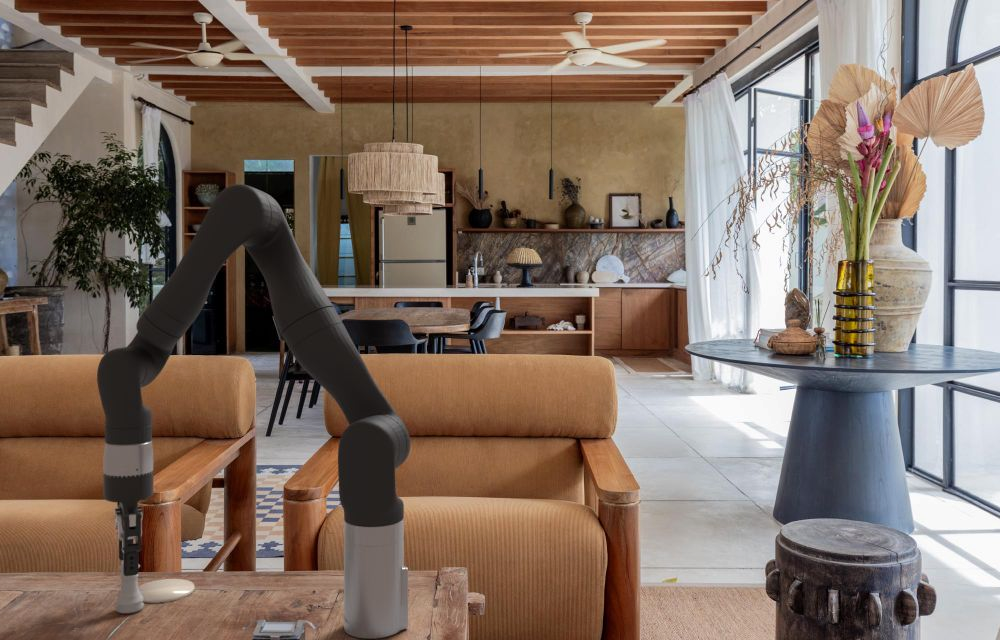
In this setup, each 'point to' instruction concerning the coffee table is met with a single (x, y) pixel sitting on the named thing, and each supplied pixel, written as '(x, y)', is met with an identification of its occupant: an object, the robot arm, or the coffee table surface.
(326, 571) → the coffee table surface
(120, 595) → the rook chess piece
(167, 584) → the cream round disc
